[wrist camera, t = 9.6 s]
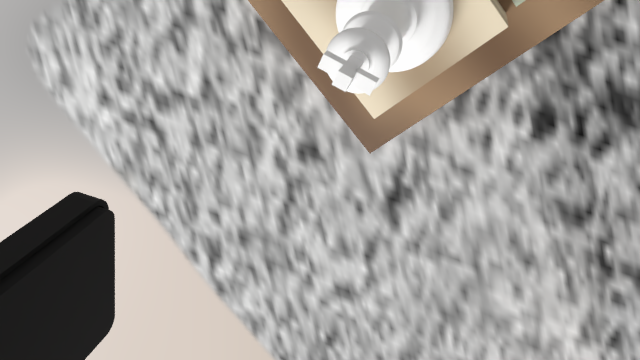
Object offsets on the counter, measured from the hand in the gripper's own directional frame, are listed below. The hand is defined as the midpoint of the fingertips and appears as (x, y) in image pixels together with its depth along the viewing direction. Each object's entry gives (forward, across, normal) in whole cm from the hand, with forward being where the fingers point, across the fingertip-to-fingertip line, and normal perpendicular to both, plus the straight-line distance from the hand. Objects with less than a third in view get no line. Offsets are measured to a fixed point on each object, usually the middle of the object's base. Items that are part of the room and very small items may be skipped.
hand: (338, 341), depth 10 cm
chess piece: (+17, +2, -2) cm, 17 cm away
